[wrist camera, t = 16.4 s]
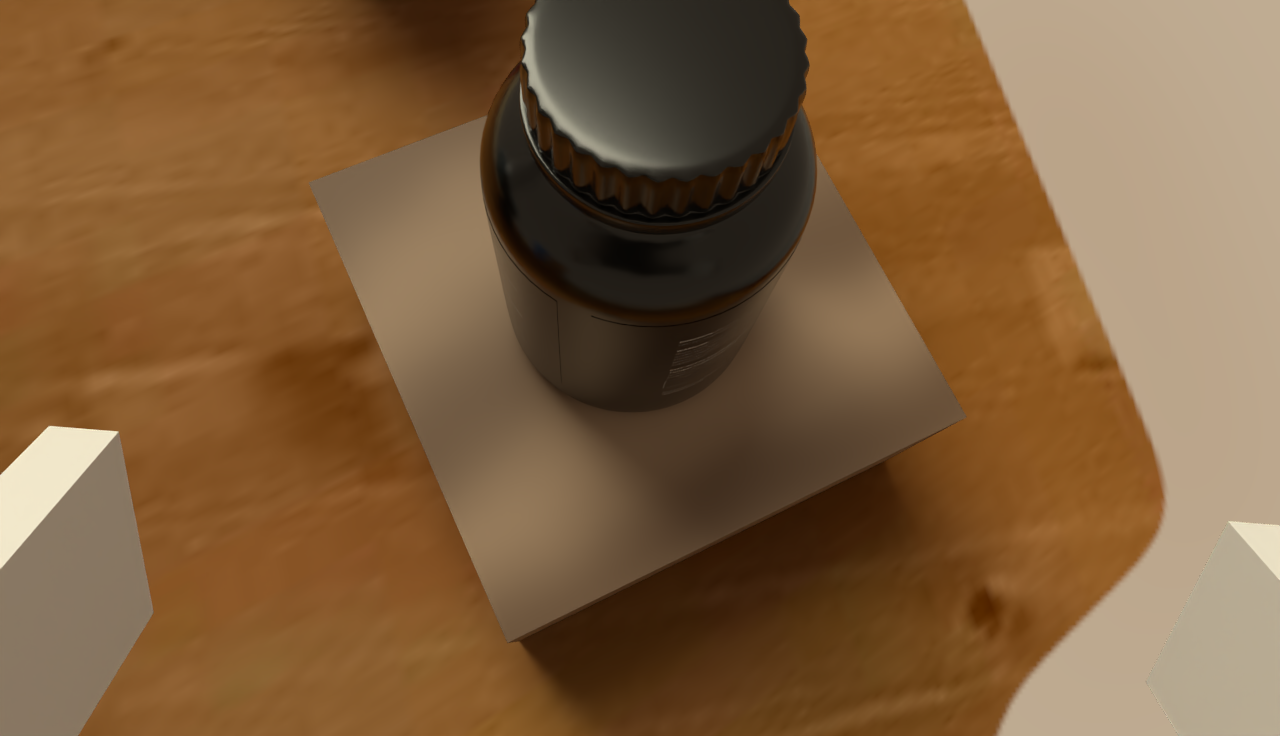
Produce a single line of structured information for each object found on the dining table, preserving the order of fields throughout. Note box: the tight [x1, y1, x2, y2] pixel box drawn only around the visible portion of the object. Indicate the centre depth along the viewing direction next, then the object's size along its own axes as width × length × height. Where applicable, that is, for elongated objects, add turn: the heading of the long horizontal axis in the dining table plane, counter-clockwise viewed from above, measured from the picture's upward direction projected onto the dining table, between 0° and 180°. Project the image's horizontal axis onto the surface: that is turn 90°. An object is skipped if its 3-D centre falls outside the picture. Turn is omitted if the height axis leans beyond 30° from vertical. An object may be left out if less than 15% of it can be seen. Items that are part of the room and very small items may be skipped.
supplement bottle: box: [480, 0, 817, 412], centre depth 21 cm, size 7×7×12 cm
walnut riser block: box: [309, 115, 966, 643], centre depth 30 cm, size 14×14×7 cm
